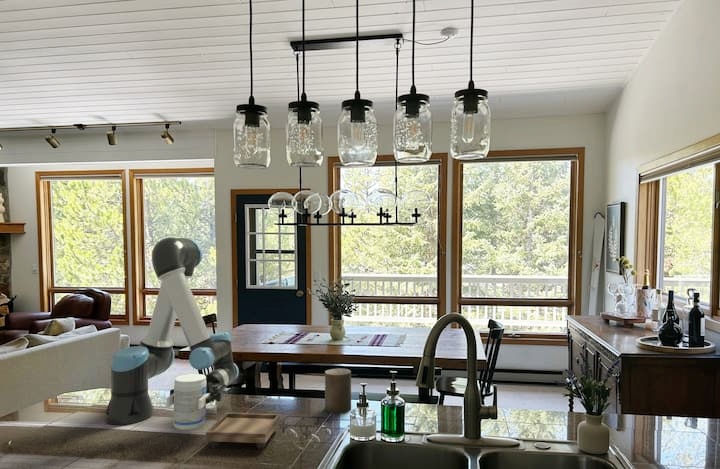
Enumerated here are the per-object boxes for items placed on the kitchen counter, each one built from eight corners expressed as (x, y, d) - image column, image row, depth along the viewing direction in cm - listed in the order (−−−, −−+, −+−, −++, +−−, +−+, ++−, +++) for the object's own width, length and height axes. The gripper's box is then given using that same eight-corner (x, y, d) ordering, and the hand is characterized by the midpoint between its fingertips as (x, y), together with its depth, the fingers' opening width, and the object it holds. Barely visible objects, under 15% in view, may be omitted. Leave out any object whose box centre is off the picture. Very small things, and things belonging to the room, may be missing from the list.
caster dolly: (205, 449, 133) (205, 432, 133) (226, 428, 149) (226, 412, 149) (265, 451, 131) (265, 434, 132) (280, 429, 147) (280, 414, 148)
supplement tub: (208, 427, 141) (210, 379, 141) (176, 433, 135) (178, 383, 136) (200, 417, 149) (202, 371, 149) (170, 422, 144) (171, 375, 144)
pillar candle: (350, 413, 162) (350, 371, 163) (323, 413, 162) (323, 371, 163) (351, 404, 172) (351, 364, 172) (325, 404, 172) (326, 364, 172)
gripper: (244, 394, 159) (218, 418, 137) (183, 391, 161) (148, 414, 139) (244, 373, 159) (219, 393, 137) (184, 370, 161) (149, 389, 139)
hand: (183, 403), depth 138 cm, fingers closed on supplement tub, 9 cm apart
